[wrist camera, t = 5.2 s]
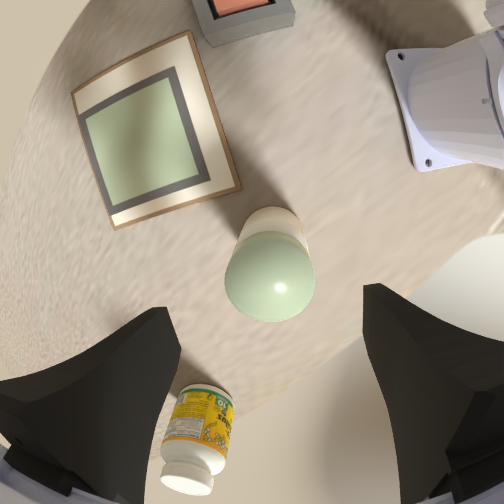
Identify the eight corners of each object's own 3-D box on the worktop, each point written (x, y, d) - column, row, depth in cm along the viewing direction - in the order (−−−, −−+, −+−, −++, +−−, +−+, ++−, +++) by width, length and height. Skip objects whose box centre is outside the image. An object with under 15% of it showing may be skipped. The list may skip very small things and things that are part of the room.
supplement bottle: (173, 380, 25) (140, 465, 16) (230, 382, 24) (211, 476, 16) (188, 415, 27) (164, 493, 18) (239, 417, 26) (226, 501, 17)
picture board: (191, 31, 15) (189, 29, 14) (241, 189, 18) (241, 190, 18) (72, 92, 16) (69, 92, 16) (115, 229, 20) (113, 231, 20)
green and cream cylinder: (295, 199, 18) (303, 231, 12) (310, 257, 20) (322, 311, 14) (233, 215, 19) (212, 254, 13) (252, 271, 20) (240, 328, 14)
